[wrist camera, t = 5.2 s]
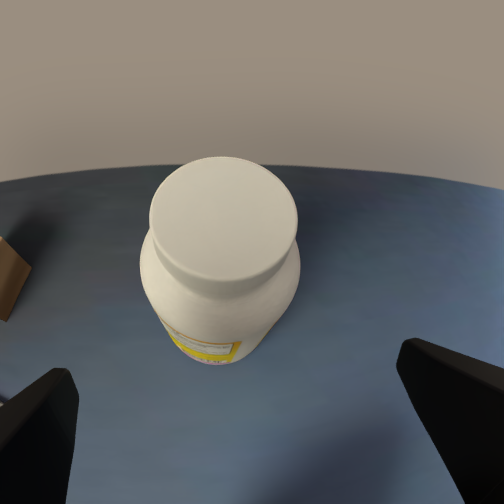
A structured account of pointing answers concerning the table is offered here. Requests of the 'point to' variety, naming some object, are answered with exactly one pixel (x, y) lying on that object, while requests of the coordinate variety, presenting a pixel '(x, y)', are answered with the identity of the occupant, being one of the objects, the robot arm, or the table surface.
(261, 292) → the supplement bottle
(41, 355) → the table surface
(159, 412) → the table surface
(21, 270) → the light brown cube
